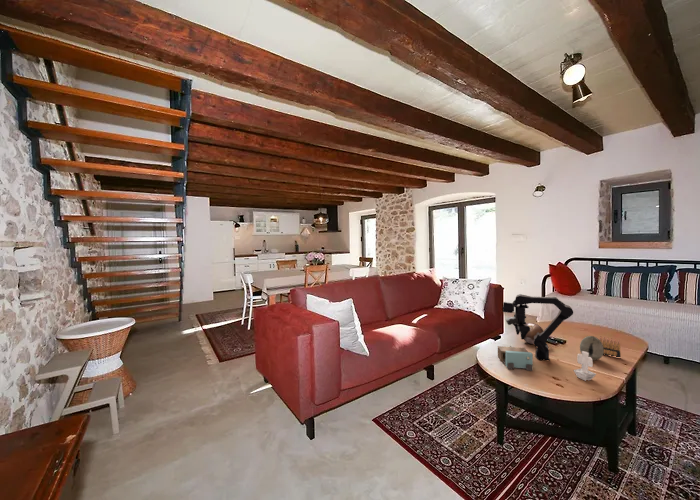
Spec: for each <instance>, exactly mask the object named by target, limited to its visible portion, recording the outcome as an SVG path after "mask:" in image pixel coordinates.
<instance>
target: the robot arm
mask: <svg viewBox="0 0 700 500" xmlns="http://www.w3.org/2000/svg"><path fill="white" fill-rule="evenodd" d="M502 304H503V305H502V312H503V313H510V314H513V313H514V312H515V313H514V314H513V316H511V317H507V318H505V321H506V324H507V325H508V326H512V325H513V327H514V330H515V332H516V335H518V336H519V335H520V339H521V341H522V340H523V341H524V338H525V336H526V334H527V333H528V332H529V331H530V327H529V326H528V325H524V324H526V323H527V321H526V319H527V315H526V309H530V308H529V304H544V305H545V304H546V305H547V304H549V305H554V306H555V308H557V309H558V313H557V315H556V317H555V318H554V319H553V320H552V321H551V322H550V323H549V324H548V325H547V327H545V328H544V329H543V332H542V333H537V334H536V335H535V336H534V344H533V345H534V346H535V347H536V349H535V351H534V353H535V354H534V355H535V358H537V360H539V361H547V362H548V361H549V362H551V359H550V349H549V344H548V343H547V341H548V339H549V337H551V335H552V334H553V333H554V332H555V331H556V330H557V328H558V327H559V326H560V325H561V324H562V323H563V322H564V321H566V320H567V319H569V318H571V317H573V315H574V310H573V308H572V307H571V306H570V305H567V304H565V303H564V302H563V301H562V300H560V299H558V298H557V297H555V296H531V295H526V294H521V293H520V294H517V295H516V296H515V299H514V300H513V302H507V301H503V302H502Z"/></svg>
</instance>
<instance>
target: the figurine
mask: <svg viewBox="0 0 700 500" xmlns="http://www.w3.org/2000/svg"><path fill="white" fill-rule="evenodd" d="M588 355H589V353H588V352H585V351H582V353H577V357H576V361H577V363H578V365H579V364H580V365H581V368H576V369H573V370H572V371H573V372H574V374H575V375H576V377H577V378H578V379H580V380H582V381H585V382H587V381H586V380H588V381H591V379H592V380H593V378H595V376H596V375H597V373H595V372H593V371H590V370H589V367H590V368H593V365H594V364H593V363H594V362H593V361H594V360H592V358H591V357H588Z"/></svg>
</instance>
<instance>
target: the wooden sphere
mask: <svg viewBox="0 0 700 500" xmlns="http://www.w3.org/2000/svg"><path fill="white" fill-rule="evenodd" d="M524 325H528V326H529V327H530V331H529V332H528V333H527V334H526V336H525V338H524V339H523V341H525V342H526V343H527V344H531V345H534V336H535V335H536V334H537V333H542V332H543V331H544V329H543V328H542V326H541V325H540V324H537V323H535V322H526V324H524Z"/></svg>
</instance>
